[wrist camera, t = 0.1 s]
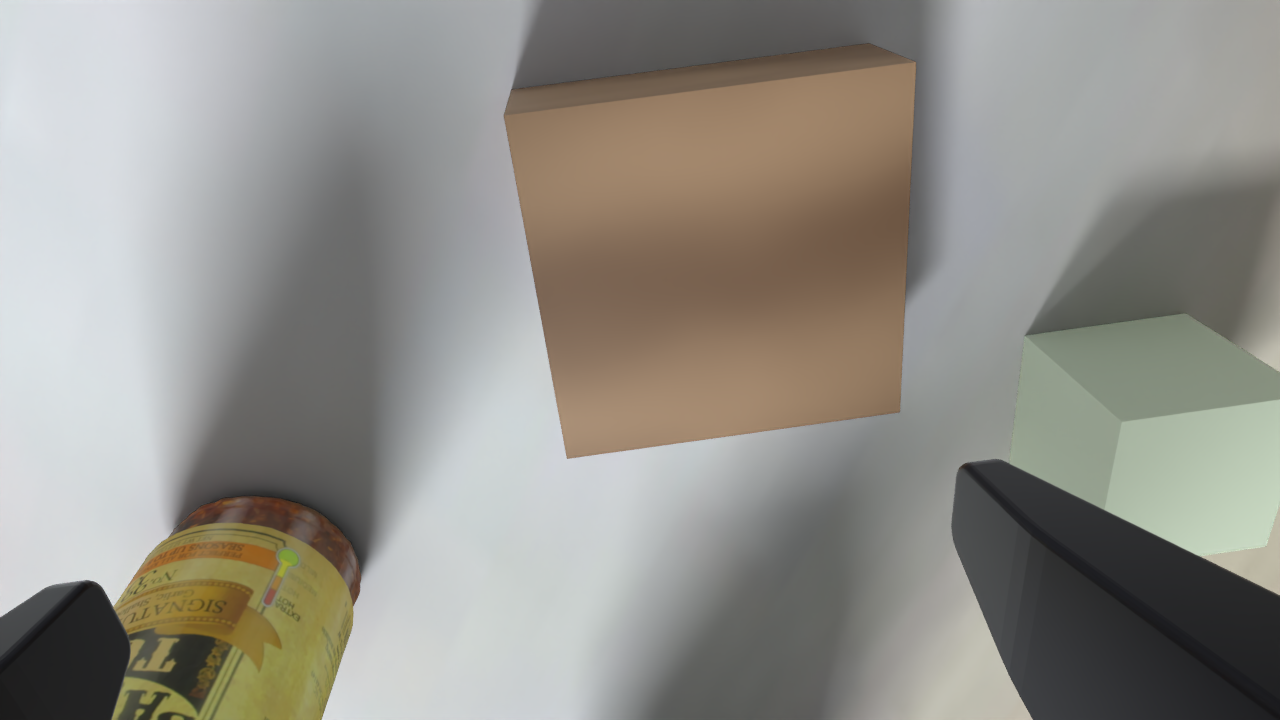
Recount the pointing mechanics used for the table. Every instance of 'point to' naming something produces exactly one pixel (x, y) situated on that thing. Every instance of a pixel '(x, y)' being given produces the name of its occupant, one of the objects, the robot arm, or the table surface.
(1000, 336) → the table surface
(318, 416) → the table surface
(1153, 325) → the sage cube
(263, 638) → the sauce bottle
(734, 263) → the walnut block
